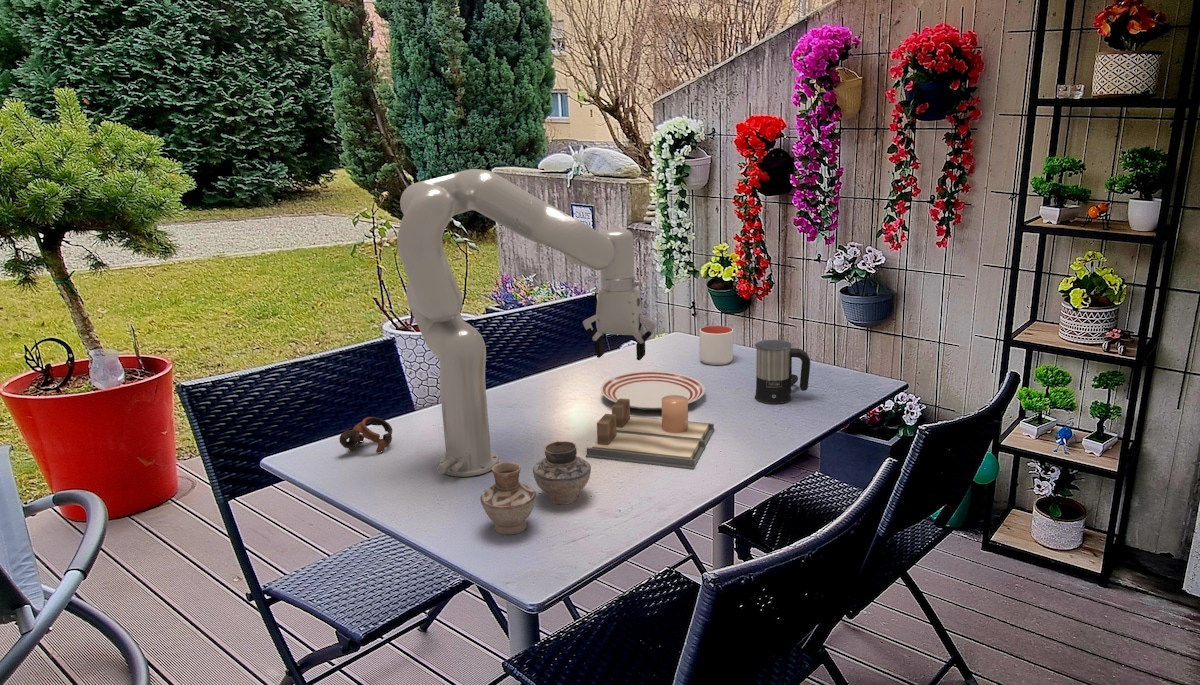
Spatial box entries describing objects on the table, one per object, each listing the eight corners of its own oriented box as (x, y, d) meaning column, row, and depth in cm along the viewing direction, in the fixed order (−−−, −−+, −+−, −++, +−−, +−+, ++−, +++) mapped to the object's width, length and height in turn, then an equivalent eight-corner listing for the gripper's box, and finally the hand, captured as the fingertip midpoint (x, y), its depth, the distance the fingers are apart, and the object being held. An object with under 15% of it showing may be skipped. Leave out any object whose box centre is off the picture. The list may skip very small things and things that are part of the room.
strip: (690, 462, 163) (690, 435, 162) (592, 451, 170) (591, 425, 169) (699, 446, 171) (699, 419, 170) (605, 436, 178) (604, 411, 177)
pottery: (469, 529, 140) (464, 469, 137) (560, 480, 159) (558, 425, 156) (514, 549, 134) (509, 485, 130) (603, 494, 152) (601, 438, 149)
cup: (698, 366, 230) (698, 333, 228) (700, 356, 240) (700, 325, 237) (732, 366, 229) (733, 334, 226) (732, 357, 238) (733, 325, 236)
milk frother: (761, 406, 196) (762, 350, 192) (740, 386, 212) (741, 334, 208) (814, 401, 198) (816, 345, 194) (790, 382, 213) (792, 330, 209)
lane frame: (693, 469, 162) (693, 461, 161) (585, 457, 169) (585, 449, 169) (714, 429, 182) (714, 422, 182) (617, 420, 190) (617, 413, 189)
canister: (684, 434, 175) (684, 405, 173) (659, 431, 177) (658, 402, 175) (690, 424, 180) (690, 396, 179) (665, 422, 182) (665, 394, 181)
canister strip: (700, 443, 173) (700, 417, 171) (607, 433, 180) (606, 408, 178) (708, 428, 181) (708, 403, 179) (619, 420, 188) (618, 396, 186)
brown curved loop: (370, 439, 185) (383, 412, 182) (390, 465, 180) (404, 437, 177) (325, 443, 175) (338, 414, 173) (346, 470, 171) (359, 441, 168)
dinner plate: (726, 401, 201) (726, 389, 200) (642, 426, 187) (642, 413, 186) (660, 375, 223) (660, 364, 222) (581, 396, 209) (580, 384, 208)
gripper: (659, 282, 175) (660, 355, 179) (587, 280, 180) (590, 350, 185) (650, 289, 168) (651, 364, 172) (575, 286, 173) (579, 359, 178)
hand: (620, 357), depth 179 cm, fingers open, 9 cm apart
